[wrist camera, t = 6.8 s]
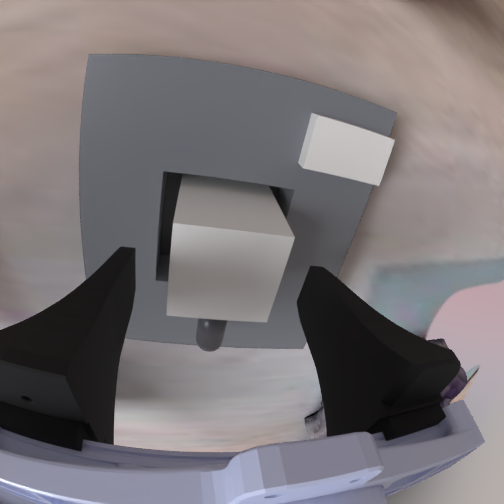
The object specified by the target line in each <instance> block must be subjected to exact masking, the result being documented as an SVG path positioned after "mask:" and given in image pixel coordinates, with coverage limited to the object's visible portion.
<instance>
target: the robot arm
mask: <svg viewBox="0 0 504 504" xmlns="http://www.w3.org/2000/svg"><path fill="white" fill-rule="evenodd" d="M135 259H136V248H132V247H122V246H121V247H119V248H118V249H117V250H116V251H115V252H114V253H113V254H112V255H111V256H110V257H109V258H108V259H107V260H106V261H105V262H104V263H103V264H102V265H101V266H100V267H99V268H98V269H97V270H96V271H95V272H94V273H93V274H92V275H91V276H90V277H89V278H88V279H86V280H85V281H84V282H83V283H82V284H81V285H80V286H79V287H77V288H76V289H75V290H74V291H72V292H71V293H70V294H68V295H67V296H65V297H64V298H63V299H61V300H60V301H58V302H56V303H55V304H53V305H52V306H50V307H48V308H47V309H45V310H43V311H42V312H40V313H38V314H36V315H34V316H32V317H30V318H28V319H26V320H24V321H22V322H20V323H17V324H15V325H12V326H10V327H7V328H4V329H2V330H0V504H387V501H386V498H385V497H386V496H389V495H391V494H394V493H396V492H398V491H401V490H403V489H405V488H408V487H410V486H412V485H414V484H417V483H419V482H421V481H423V480H425V479H427V478H429V477H431V476H433V475H435V474H437V473H439V472H441V471H443V470H445V469H447V468H449V467H451V466H452V465H453V464H455V463H457V462H458V461H460V460H461V459H462V458H464V457H465V456H467V455H468V454H470V453H471V452H472V451H473V450H475V449H476V448H477V447H479V446H480V445H482V444H483V443H484V441H485V440H484V438H483V436H482V434H481V432H480V430H479V429H478V427H477V425H476V423H475V421H474V419H473V417H472V415H471V413H470V411H469V409H468V408H467V406H466V404H465V402H464V400H460V401H457V402H454V403H451V404H449V405H447V406H445V407H444V408H442V407H441V405H440V403H441V402H442V401H443V398H442V396H441V394H440V393H441V392H442V391H443V390H444V389H445V388H446V387H447V386H448V385H449V384H450V383H451V381H452V380H453V379H454V378H455V377H456V375H457V374H458V372H459V370H460V366H461V364H460V361H459V360H458V358H457V357H456V355H455V354H454V352H453V351H452V350H450V349H447V348H445V347H442V346H439V345H437V344H434V343H431V342H429V341H427V340H425V339H422V338H420V337H418V336H416V335H414V334H412V333H410V332H409V331H407V330H405V329H403V328H402V327H400V326H398V325H396V324H395V323H393V322H392V321H390V320H389V319H387V318H386V317H384V316H383V315H381V314H380V313H379V312H377V311H376V310H374V309H373V308H372V307H371V306H369V305H368V304H367V303H366V302H364V301H363V300H362V299H361V298H360V297H358V296H357V295H356V294H355V293H354V292H353V291H351V290H350V289H349V288H348V287H347V286H346V285H345V284H343V283H342V282H341V281H340V280H339V279H338V278H337V277H335V276H334V275H333V274H332V273H331V272H329V271H328V270H327V269H325V268H324V267H320V266H310V268H309V270H308V273H307V276H306V278H305V281H304V284H303V286H302V289H301V291H300V294H299V297H298V299H297V308H298V314H299V318H300V323H301V326H302V329H303V332H304V334H305V337H306V340H307V343H308V346H309V349H310V352H311V354H312V357H313V360H314V363H315V366H316V370H317V374H318V379H319V383H320V388H321V394H322V400H323V406H324V413H325V421H326V431H327V437H325V438H318V439H311V440H303V441H294V442H284V443H275V444H269V445H262V446H257V447H254V448H250V449H247V450H244V451H241V452H180V451H164V450H152V449H142V448H133V447H125V446H118V445H114V409H115V395H116V383H117V374H118V366H119V360H120V355H121V351H122V347H123V343H124V339H125V335H126V332H127V328H128V324H129V321H130V317H131V313H132V309H133V303H134V297H135V291H136V264H135Z"/></svg>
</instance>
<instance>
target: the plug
mask: <svg viewBox="0 0 504 504" xmlns="http://www.w3.org/2000/svg"><path fill="white" fill-rule="evenodd" d="M294 239H295V237H294V235H293V233H292V230H291V228H290V226H289V224H288V222H287V220H286V219H285V217H284V215H283V213H282V211H281V209H280V207H279V205H278V203H277V201H276V199H275V197H274V195H273V193H272V191H271V189H270V187H269V185H263V184H257V183H251V182H244V181H237V180H230V179H223V178H216V177H208V176H200V175H192V174H184V173H183V175H182V180H181V185H180V190H179V195H178V200H177V205H176V210H175V215H174V221H173V229H172V239H171V251H170V264H169V278H168V295H167V316H178V317H189V318H198V324H197V332H196V342H197V344H198V346H199V347H200V348H201V349H202V350H204V351H209V352H210V351H215V350H217V349H218V348H219V347H220V346H221V344H222V342H223V338H224V333H225V329H226V324H227V320H229V321H246V322H266V323H267V320H268V317H269V314H270V311H271V309H272V306H273V303H274V300H275V297H276V294H277V291H278V288H279V285H280V282H281V279H282V276H283V273H284V270H285V267H286V264H287V261H288V258H289V255H290V251H291V248H292V245H293V242H294Z"/></svg>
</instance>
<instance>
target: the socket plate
mask: <svg viewBox="0 0 504 504" xmlns="http://www.w3.org/2000/svg"><path fill="white" fill-rule="evenodd" d="M396 114H397V113H396V112H394V111H391V110H389V109H386V108H384V107H381V106H379V105H376V104H374V103H371V102H368V101H366V100H363V99H360V98H357V97H354V96H352V95H349V94H346V93H343V92H340V91H337V90H334V89H330V88H327V87H324V86H321V85H317V84H314V83H310V82H307V81H303V80H299V79H296V78H292V77H288V76H284V75H280V74H276V73H271V72H267V71H262V70H258V69H253V68H248V67H242V66H237V65H231V64H225V63H219V62H212V61H205V60H198V59H189V58H180V57H169V56H156V55H138V54H89V56H88V63H87V69H86V77H85V84H84V93H83V103H82V114H81V129H80V152H79V196H80V219H81V234H82V246H83V256H84V265H85V274H86V279H88V278H89V277H90V276H91V275H92V274H93V273H94V272H95V271H96V270H97V269H98V268H99V267H100V266H101V265H102V264H103V263H104V262H105V261H106V260H107V259H108V258H109V257H110V256H111V255H112V254H113V253H114V252H115V251H116V250H117V249H118V248H119V247H121V246H122V247H132V248H136V259H135V264H136V291H135V297H134V303H133V309H132V313H131V317H130V321H129V324H128V328H127V332H126V335H125V338H127V339H135V340H144V341H153V342H163V343H174V344H186V345H198V344H197V342H196V332H197V324H198V318H189V317H178V316H167V295H168V278H169V264H170V251H171V239H172V229H173V221H174V215H175V210H176V205H177V200H178V195H179V190H180V185H181V180H182V175H183V173H184V174H192V175H200V176H208V177H216V178H223V179H230V180H237V181H244V182H251V183H257V184H263V185H269V187H270V189H271V191H272V193H273V195H274V197H275V199H276V201H277V203H278V205H279V207H280V209H281V211H282V213H283V215H284V217H285V219H286V220H287V222H288V224H289V226H290V228H291V230H292V233H293V235H294V237H295V239H294V242H293V245H292V248H291V251H290V255H289V258H288V261H287V264H286V267H285V270H284V273H283V276H282V279H281V282H280V285H279V288H278V291H277V294H276V297H275V300H274V303H273V306H272V309H271V311H270V314H269V317H268V320H267V323H266V322H246V321H229V320H227V324H226V329H225V333H224V338H223V342H222V344H221V346H220V347H236V348H271V349H303V348H304V346H305V344H306V342H307V340H306V337H305V334H304V332H303V329H302V326H301V323H300V318H299V314H298V308H297V299H298V297H299V294H300V291H301V289H302V286H303V284H304V281H305V278H306V276H307V273H308V270H309V268H310V266H320V267H324V268H325V269H327V270H328V271H329V272H331V273H332V274H333V275H334V276H335V277H337V275H338V273H339V271H340V268H341V266H342V264H343V261H344V259H345V257H346V254H347V252H348V249H349V247H350V245H351V242H352V240H353V237H354V235H355V232H356V230H357V227H358V225H359V222H360V220H361V217H362V214H363V212H364V209H365V206H366V204H367V201H368V198H369V196H370V193H371V190H372V187H373V185H376V186H379V185H380V183H381V180H382V177H383V174H384V171H385V168H386V166H387V163H388V160H389V157H390V154H391V151H392V148H393V145H394V142H395V140H394V139H392V138H390V134H391V131H392V128H393V124H394V121H395V118H396Z"/></svg>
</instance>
